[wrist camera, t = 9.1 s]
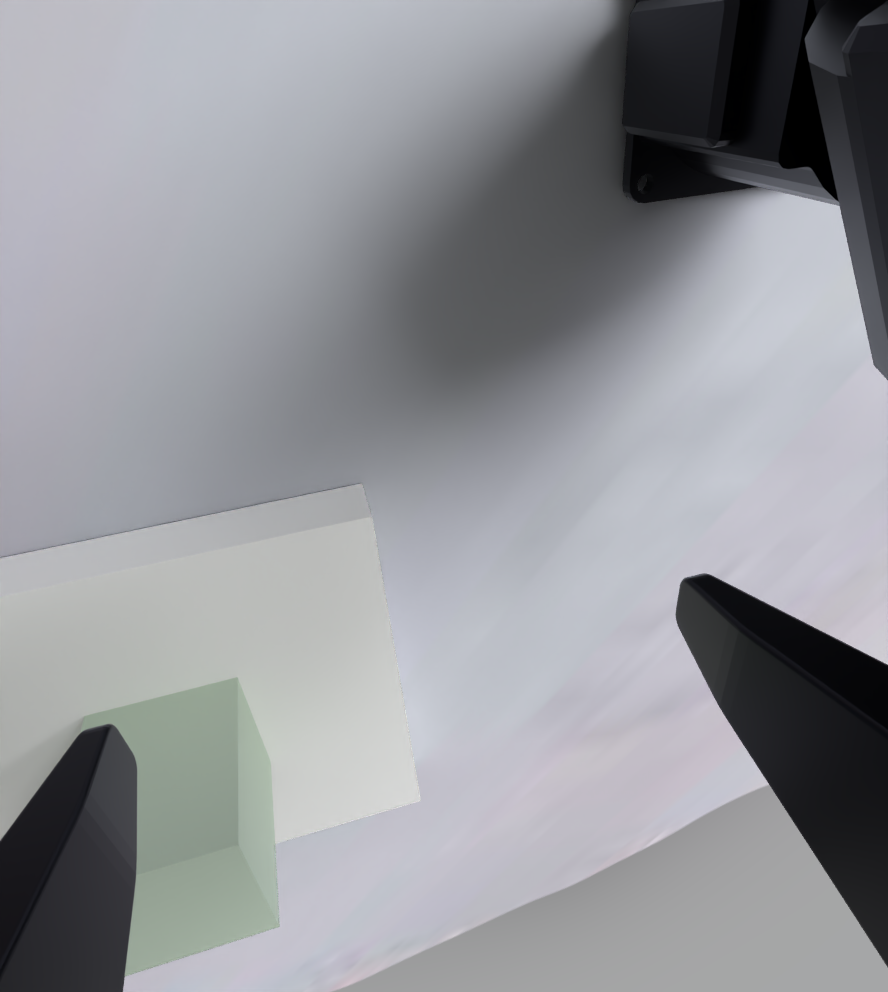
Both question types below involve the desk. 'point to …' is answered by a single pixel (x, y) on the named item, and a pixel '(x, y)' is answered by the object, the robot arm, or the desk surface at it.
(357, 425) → the desk surface
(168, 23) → the desk surface
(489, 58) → the desk surface
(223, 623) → the base plate
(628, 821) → the desk surface
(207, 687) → the sage block
